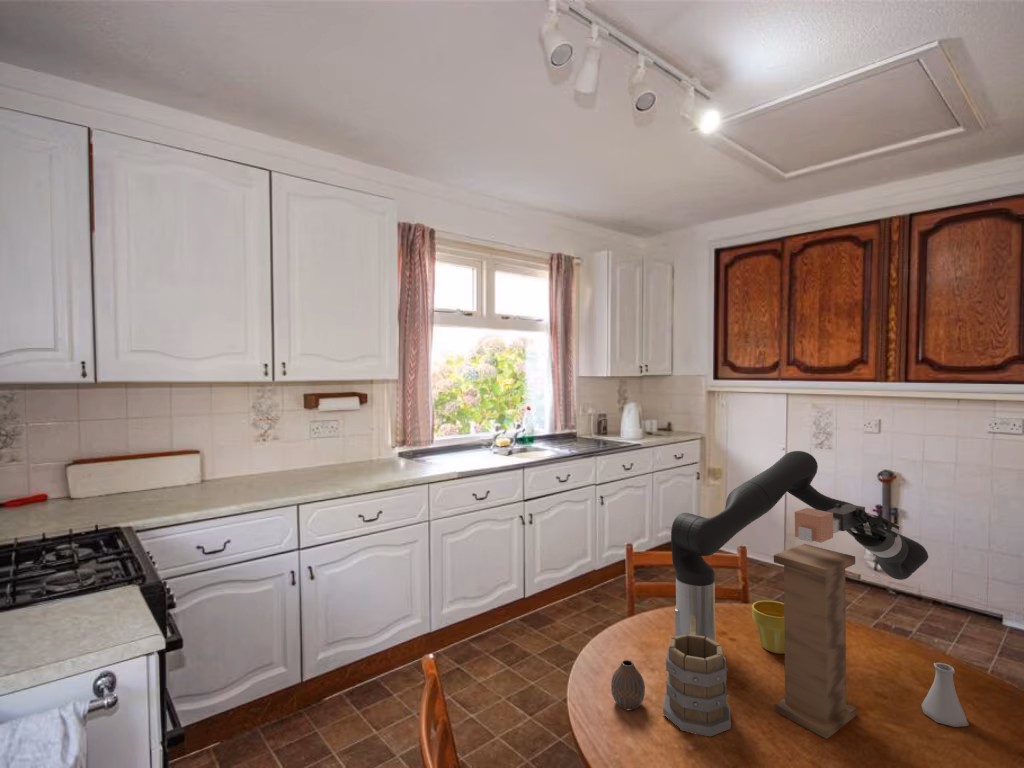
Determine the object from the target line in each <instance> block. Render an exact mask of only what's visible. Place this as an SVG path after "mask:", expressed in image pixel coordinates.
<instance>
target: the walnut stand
mask: <svg viewBox="0 0 1024 768" xmlns="http://www.w3.org/2000/svg"><path fill="white" fill-rule="evenodd" d="M773 563H774V564H778V565H781V566H783V590H784V591H783V592H784V593H783V596H784V597H783V599H784V601H783V603H784V627H785V653H784V695H785V696H784V698H782V699H781V700H779V701H778V702H777V703H775V704H774V712H775V713H777V714H779V715H780V716H781V717H784V718H786V719H788V720H790V721H792V722H794V723H796V724H798V725H799V726H802V727H803V728H805V729H806V730H809V731H810V732H813V733H815V734H816V735H818V736H820V737H822V738H824V739H826V740H828V739H829V738H830V737H832V736H833V735H834V734H836V733H837V732H838V731H839V730H840V729H842V727H844V726H845V725H847V723H849V722H850V721H851V720H852V719H854V718H855V717H856V716H857V707H855V706H854V705H851V704H850V703H847V648H846V647H847V644H846V643H847V639H846V637H847V636H846V635H847V633H846V631H847V630H846V629H847V628H846V627H847V625H846V621H847V620H846V619H847V618H846V615H847V613H846V612H847V611H846V608H847V607H846V606H847V605H846V602H847V601H846V569H848V568H850V567H852V566H854V565H856V556H854V555H851V554H847V553H843V552H840V551H835V550H830V549H827V548H823V547H819V546H814V545H810V544H806V543H803V544H799V545H797V546H794V547H792V548H789V549H785V550H783V551H782V552H778V553H775V554H773Z"/></svg>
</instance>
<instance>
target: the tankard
mask: <svg viewBox="0 0 1024 768" xmlns="http://www.w3.org/2000/svg"><path fill="white" fill-rule="evenodd" d="M668 645H669V646H668V648H667V651H666V657H665V659H664V660H665V666H666V667H665V668H666V669H665V670H666V671H667V675H666V676H667V677H666V680H665V684H666V693H664V698H663V705H662V706H663V707H662V714H664V715H665V716H666V717H667V718H669V719H670V720H671V721H672V722H673V723H674V724H675V725H674V724H673V723H672V722H671V721H670V720H669V719H668V720H669V721H670V722H671V723H672V724H673V725H674V726H676V725H677V726H678V727H679V728H680V729H679V728H678V727H677V726H676V727H677V728H678V729H679V730H682V732H684V731H686V732H685V733H689V732H693V733H692V734H694V733H696V734H695V735H699V734H700V736H703V735H705V736H704V737H708V736H709V738H710V737H713V736H716V735H718V734H720V733H723V731H724V732H725V731H728V730H731V729H732V725H731V724H732V721H731V705H729V704H728V701H727V700H728V699H727V698H728V697H727V696H728V695H729V692H728V691H727V672H728V671H729V669H728V667H727V661H726V660H727V658H726V657H725V656H724V649H723V646H722V644H720V643H718V642H717V641H716V640H715V641H713V640H711V639H710V638H708V637H707V638H706V636H699V635H697V617H695V616H691V617H690V634H687V635H686V634H683V635H680V636H676V637H675V636H673V637H671V638H670V639H669V644H668ZM664 715H663V716H664ZM665 716H664V717H665ZM666 717H665V718H666ZM667 718H666V719H667Z"/></svg>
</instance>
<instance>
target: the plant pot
mask: <svg viewBox="0 0 1024 768" xmlns="http://www.w3.org/2000/svg"><path fill="white" fill-rule="evenodd" d="M751 615H752V616H751V617H752V620H753V622H754V623H755V626H756V630H757V633H758V634H757V635H758V638H759V643H760V645H761V647H762V648H763V649H764V650H766V651H768V652H769V653H770V652H771V653H772V654H773V653H774V654H780V655H781V654H784V655H785V627H784V602H780V601H776V600H775V601H774V600H758V601H756V602H753V604H752V605H751Z"/></svg>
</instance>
